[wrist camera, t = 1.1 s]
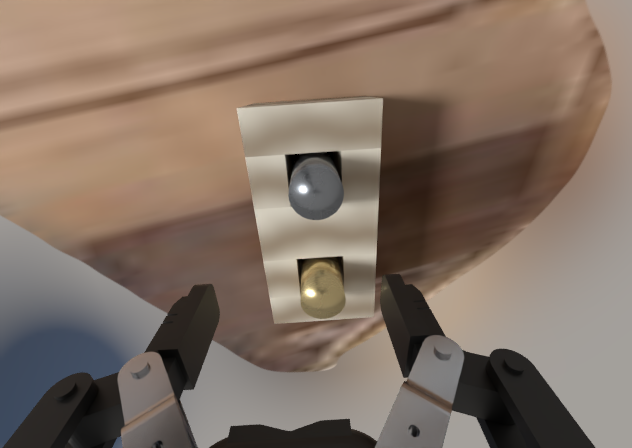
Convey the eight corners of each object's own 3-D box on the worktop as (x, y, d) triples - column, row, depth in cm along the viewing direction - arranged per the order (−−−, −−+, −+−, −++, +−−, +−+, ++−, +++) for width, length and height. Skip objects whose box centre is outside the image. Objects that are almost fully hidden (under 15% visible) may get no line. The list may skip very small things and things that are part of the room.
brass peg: (300, 246, 32) (298, 285, 26) (337, 244, 32) (345, 282, 26) (303, 277, 34) (302, 320, 28) (338, 274, 34) (346, 317, 28)
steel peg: (290, 150, 27) (285, 169, 21) (334, 147, 27) (343, 165, 21) (294, 193, 29) (291, 221, 23) (336, 190, 29) (344, 218, 23)
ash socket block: (253, 103, 30) (236, 108, 22) (364, 96, 30) (383, 98, 22) (280, 281, 40) (274, 323, 33) (361, 276, 40) (373, 316, 33)
